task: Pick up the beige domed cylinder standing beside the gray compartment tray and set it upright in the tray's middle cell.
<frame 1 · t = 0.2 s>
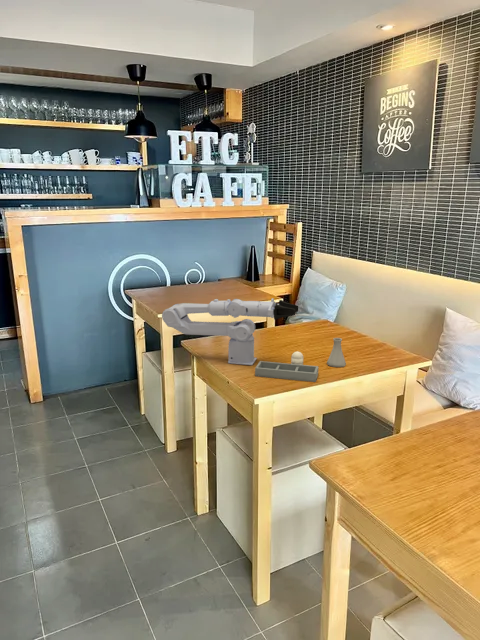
hand: (296, 310, 177), 21 cm above the table, tool horizontal, fingers open, 7 cm apart
flask: (336, 364, 185), on the table
beige domed cylinder: (297, 365, 183), on the table
gray compartment tray: (286, 375, 174), on the table
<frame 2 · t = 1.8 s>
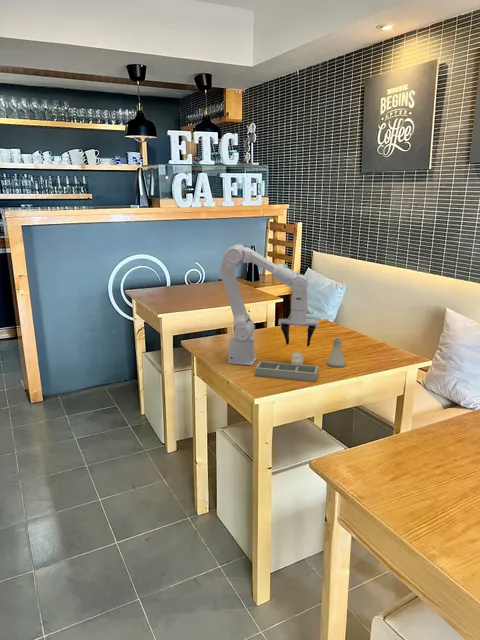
hand: (297, 344, 181), 8 cm above the table, tool pointing down, fingers open, 7 cm apart
nothing on the table moved.
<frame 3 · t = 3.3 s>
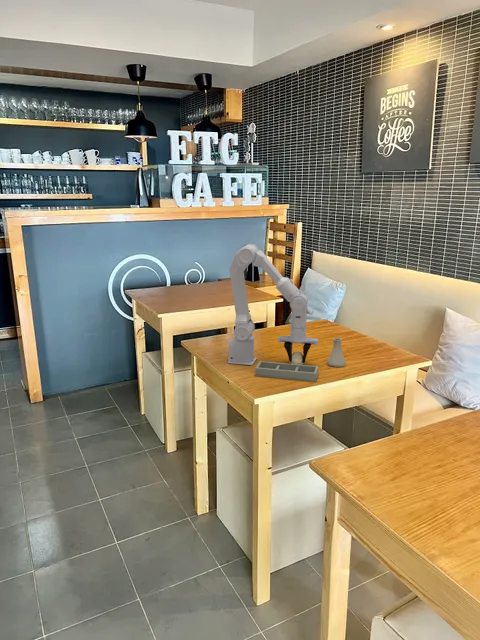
hand: (297, 361, 183), 1 cm above the table, tool pointing down, fingers closed on beige domed cylinder, 4 cm apart
beige domed cylinder: (297, 365, 183), on the table, touching gripper
everything else where it was.
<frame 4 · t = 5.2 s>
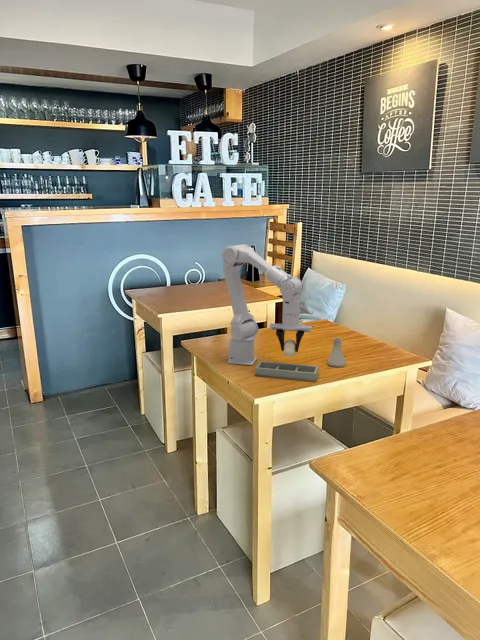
hand: (289, 350, 174), 8 cm above the table, tool pointing down, fingers closed on beige domed cylinder, 4 cm apart
beige domed cylinder: (289, 354, 174), point 7 cm above the table, touching gripper
everything else where it was.
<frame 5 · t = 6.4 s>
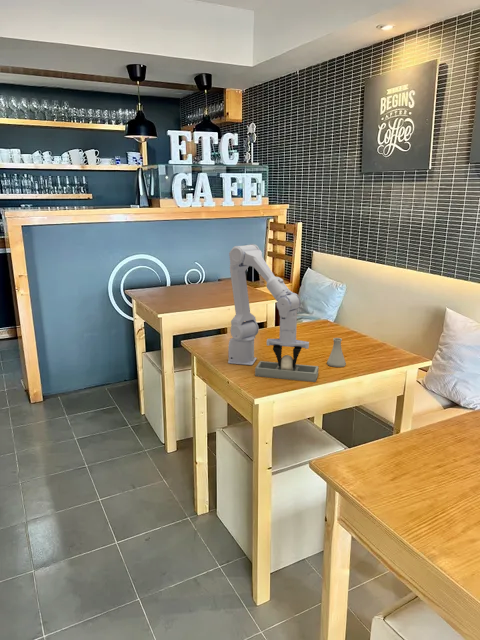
hand: (287, 366, 173), 3 cm above the table, tool pointing down, fingers closed on beige domed cylinder, 4 cm apart
beige domed cylinder: (286, 369, 173), point 2 cm above the table, touching gripper
everything else where it was.
when the fingers open (3 cm above the table, at t = 7.2 s): beige domed cylinder drops 1 cm, resting on gray compartment tray.
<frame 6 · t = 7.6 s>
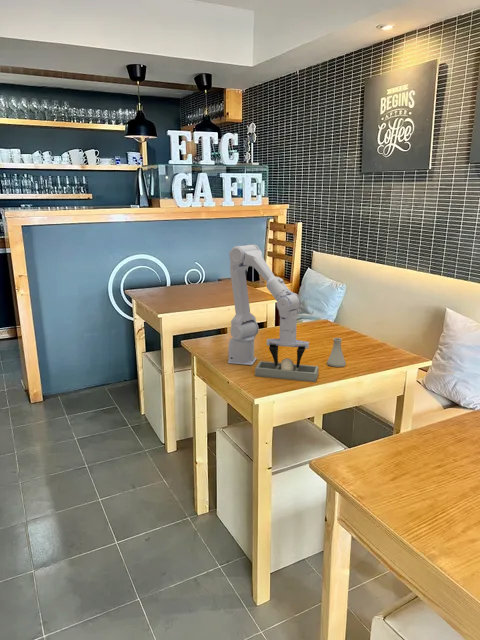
hand: (287, 366, 173), 3 cm above the table, tool pointing down, fingers open, 7 cm apart
beige domed cylinder: (287, 373, 173), point 1 cm above the table, touching gray compartment tray
everything else where it was.
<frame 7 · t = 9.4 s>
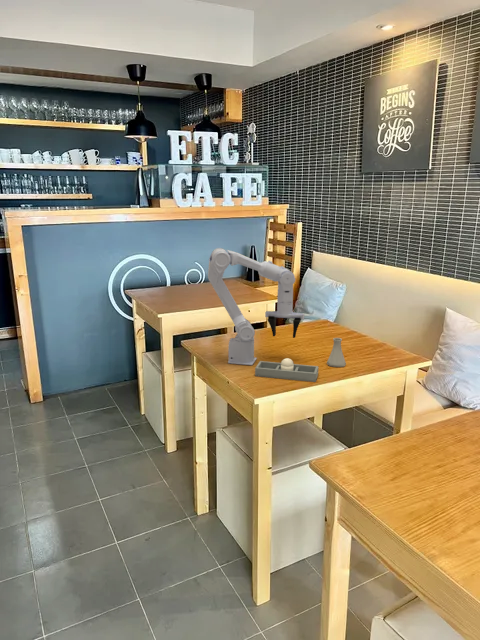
hand: (284, 336, 187), 9 cm above the table, tool pointing down, fingers open, 7 cm apart
nothing on the table moved.
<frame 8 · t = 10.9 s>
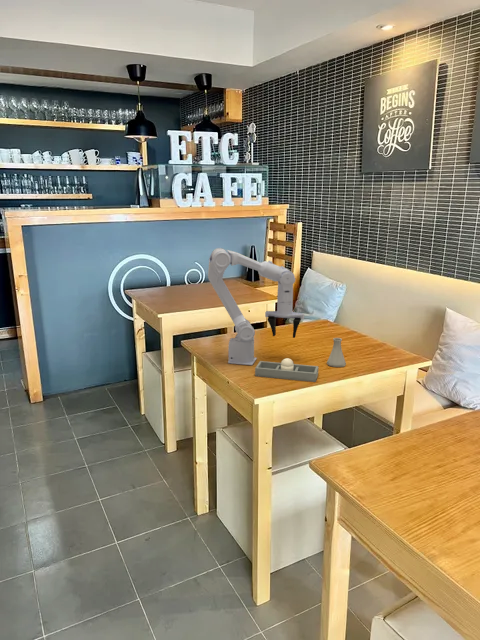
hand: (284, 336, 187), 9 cm above the table, tool pointing down, fingers open, 7 cm apart
nothing on the table moved.
at the end: beige domed cylinder 0.1 cm off-centre on the gray compartment tray, point 0.8 cm above the gray compartment tray's base; beige domed cylinder tilted 0°; the gripper is holding nothing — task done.
